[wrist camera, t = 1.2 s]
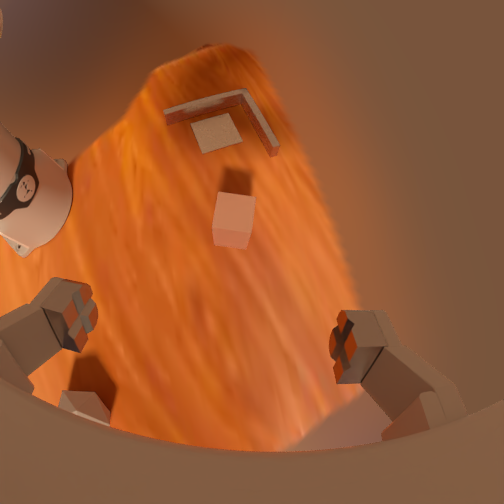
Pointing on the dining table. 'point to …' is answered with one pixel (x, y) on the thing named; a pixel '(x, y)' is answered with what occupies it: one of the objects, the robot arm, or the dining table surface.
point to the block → (233, 220)
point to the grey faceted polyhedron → (85, 406)
